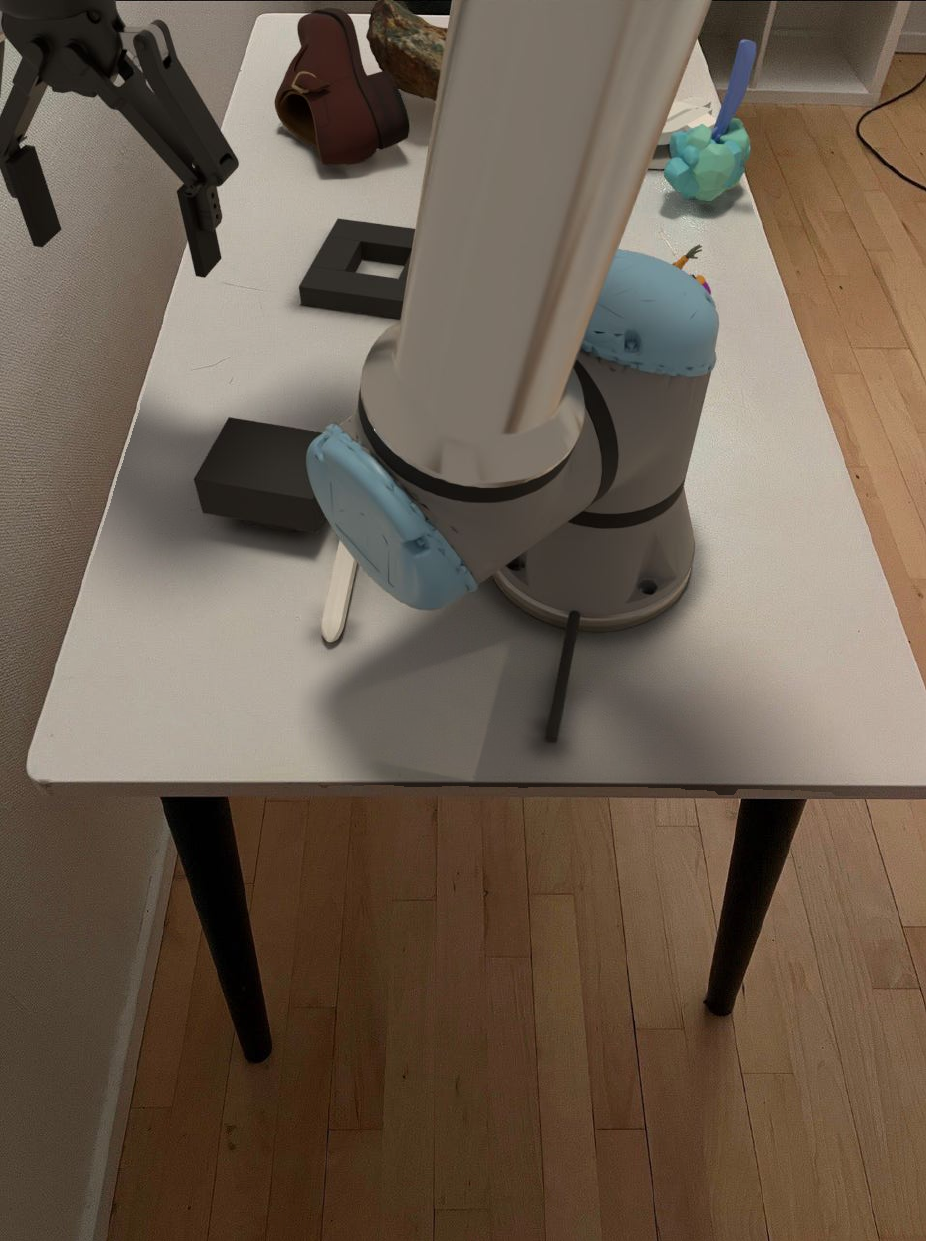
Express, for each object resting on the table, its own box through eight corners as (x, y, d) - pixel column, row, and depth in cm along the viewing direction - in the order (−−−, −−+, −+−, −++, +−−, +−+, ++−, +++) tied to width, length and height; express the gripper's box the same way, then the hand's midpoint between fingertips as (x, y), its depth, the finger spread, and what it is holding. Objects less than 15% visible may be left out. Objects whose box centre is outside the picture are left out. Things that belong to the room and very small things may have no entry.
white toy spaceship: (663, 100, 124) (666, 80, 123) (736, 122, 120) (740, 101, 119) (585, 142, 116) (587, 120, 114) (661, 167, 112) (664, 145, 110)
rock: (517, 161, 113) (531, 151, 126) (550, 86, 109) (561, 84, 122) (332, 65, 112) (366, 66, 125) (360, -14, 108) (391, -5, 121)
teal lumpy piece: (837, 92, 101) (748, 227, 112) (779, 41, 105) (698, 176, 115) (769, 83, 95) (682, 227, 106) (709, 28, 98) (631, 173, 109)
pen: (371, 506, 82) (369, 490, 81) (341, 648, 73) (339, 633, 72) (351, 504, 82) (349, 489, 81) (319, 646, 73) (316, 631, 72)
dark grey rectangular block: (347, 488, 83) (342, 435, 79) (320, 552, 79) (312, 499, 75) (240, 470, 85) (228, 416, 80) (207, 531, 80) (193, 478, 76)
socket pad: (425, 322, 97) (424, 304, 95) (300, 304, 99) (298, 286, 97) (455, 252, 104) (455, 233, 103) (339, 236, 106) (337, 217, 104)
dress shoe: (321, -25, 123) (226, 0, 121) (408, 83, 108) (301, 114, 106) (334, 55, 131) (245, 80, 129) (417, 167, 115) (317, 197, 113)
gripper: (255, -73, 62) (300, 252, 79) (-101, -112, 68) (11, 201, 84) (196, -27, 58) (257, 308, 74) (-180, -73, 63) (-46, 251, 79)
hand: (127, 252), depth 79 cm, fingers open, 13 cm apart
